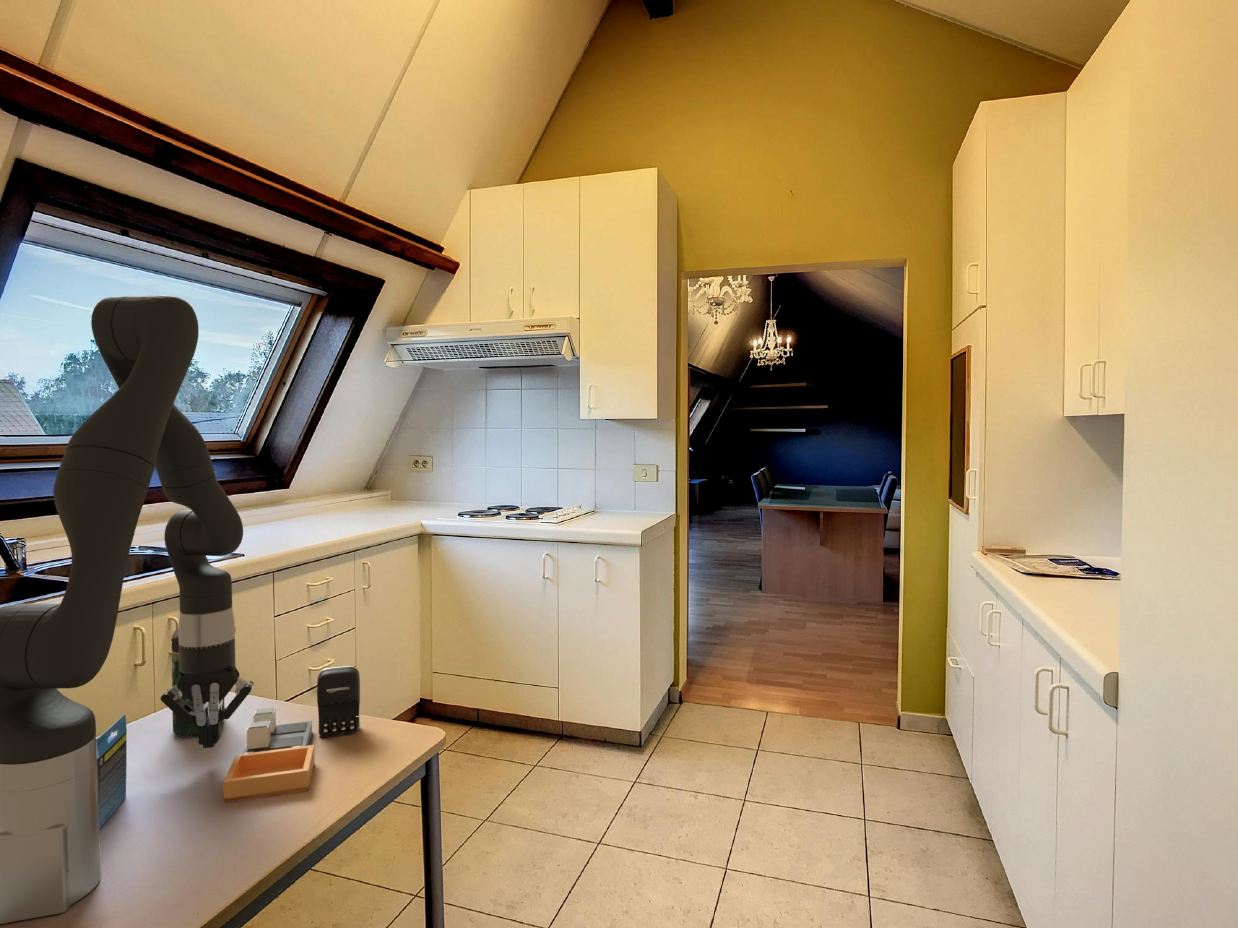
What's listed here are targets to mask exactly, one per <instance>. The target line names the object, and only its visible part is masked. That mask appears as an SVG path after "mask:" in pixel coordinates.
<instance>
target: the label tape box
mask: <svg viewBox="0 0 1238 928" xmlns="http://www.w3.org/2000/svg"><path fill="white" fill-rule="evenodd" d="M126 721H127V719H126V714H125V713H124V714H123V715H122V716H121V717H120V718H119V719H118V720H116V722H114V723H113V724H112V725H111V726H109V727H108V728H107V729H106V730H105V731H104V732H103V733H102V734H100V735H99V736H98V737H96V752H97V786H98V816H99V830H100V829H101V827H102V826H103V825H104V824H105V822H106V821H107V820H108V819H109V818H110V816H112V814H113V813H114V811H116V809H117V808H118V806H120V804H121V803H122V802H123V801H124V799H125V798H126V796H127V755H128V754H127V743H128V742H127V732H128V730H127V722H126ZM112 733H113V734H115V733H116V734H115V735H113V736H111V735H112Z"/></svg>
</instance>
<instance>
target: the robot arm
mask: <svg viewBox="0 0 1238 928" xmlns="http://www.w3.org/2000/svg"><path fill="white" fill-rule="evenodd" d="M197 317H198V316H197V313H196V312H195V310H194V308H193V306H192V305H191V304H190V302H188V301H186V300H185V299H183V298H181V297H178V296H175V295H174V296H173V295H168V294H147V295H146V294H145V295H143V294H141V295H139V294H138V295H115V296H108V297H104V298H102V299H101V300H100V301H98V302H97V303H96V305H95V307H94V308H93V310H92V313H91V318H90V319H91V321H90V325H91V331H92V335H93V338H94V341H95V344H96V347H97V348H98V351H99V353H100V355H101V357H102V359H103V361H104V363H105V366H106V367H107V368H108V371H109V372H110V374H111V376H112V379H113V380H114V382H115V384H116V386H117V388H118V390H116V391H115V393H114V394H113V395H112V396H110V397H109V399H107V400H106V401H105V402H104V403H102V405H100V406H99V407H98V408H97V409H96V410H95V411H94V412H92V413H91V414H90V416H89V417H87V418H86V419H85V421H83V422H82V423H81V425H80V426H79V427H78V428H77V429H76V430H75V431H74V432H73V434H72V436H71V437H70V439H69V441H68V443H67V445H66V448H65V451H64V453H63V456H62V460H61V462H60V465H59V468H58V471H57V473H56V475H55V480H54V484H53V490H52V491H53V495H52V496H53V501H54V504H55V505H54V506H55V508H56V511H57V515H58V518H59V519H60V520H59V521H60V523H61V525H62V527H63V530H64V532H65V534H66V538H67V540H68V543H69V548H70V553H71V561H70V562H71V563H70V564H71V565H70V571H69V572H70V573H69V577H68V581H67V584H66V588H65V591H64V595H63V597H62V599H61V602H60V603H17V604H16V603H15V604H9V605H6V606H3V607H1V608H0V925H2V924H6V923H8V924H9V923H12V922H13V923H14V922H19V921H23V920H24V921H25V920H30V919H34V918H35V919H36V918H41V917H46V916H47V917H48V916H51V915H52V916H53V915H57V914H62V913H65V912H66V911H67V910H68V909H69V908H70V906H72V905H73V904H75V903H76V902H78V901H79V900H81V899H82V898H84V897H86V896H88V894H89V893H90V892H92V891H93V890H94V889H95V887H97V885H98V883H100V881H101V880H100V879H101V848H100V847H101V846H100V845H101V844H100V829H99V816H98V786H97V752H96V739H97V730H96V729H97V724H96V716H95V713H94V711H93V710H92V709H91V708H90V707H87V706H86V705H84V704H81V703H78V702H76V701H74V700H72V699H70V698H68V697H67V696H65V695H64V694H63V693H62V692H60V691H59V690H58V689H75V688H80V687H82V686H85V685H86V684H89V683H90V682H91V681H92V680H93V679H95V677H96V676H97V674H99V673H100V671H101V669H102V668H103V666H104V664H105V662H106V661H107V658H108V655H109V653H110V649H111V646H112V642H113V639H114V635H115V630H116V625H117V620H118V615H119V607H120V603H121V597H122V596H121V595H122V592H123V584H124V580H125V573H126V570H127V564H128V561H129V555H130V553H131V548H132V543H133V540H134V536H135V533H136V529H137V526H138V522H139V518H140V515H141V512H142V508H143V506H144V503H145V499H146V497H147V494H148V491H149V488H150V483H151V481H152V477H153V474H154V470H155V469H156V473H157V477H158V478H159V482H160V484H161V485H160V486H161V488H162V492H163V494H164V496H165V497H166V499H168V501H170V502H171V503H173V504H177V505H180V506H184V507H186V508H188V509H181V510H178V511H177V512H175V513H174V514H173V515H171V516H170V518H169V519H168V521H167V523H166V525H165V529H164V536H163V537H164V545H165V549H166V552H167V556H168V558H169V561H170V564H171V567H172V570H173V572H174V576H175V578H176V581H177V583H178V587H179V598H178V599H179V619H178V627H177V629H178V634H179V671H180V674H179V677H178V679H177V681H176V685H175V686H174V687H170V688H167V689H166V690H165V691H164V692H163V693H162V695H161V696H160V701H161V702H162V703H163V704H164V705H165V706H166V707H167V708H169V710H171V712H172V713H173V712H174V713H175V714H176V715H177V716H178V717H179V718H180V719H181V720H182V721H183V722H184V723H186V724H189V723H194V724H196V725H197V726H198V736H197V742H198V744H199V746H202V749H204V750H205V749H210V748H212V749H213V748H214V747H215V746H216V744H218V743H219V741H220V740H221V739H220V738H221V736H222V735H221V734H222V733H221V732H222V731H221V728H222V727H221V724H220V721H222V720H224V721H225V720H228V719H230V718H231V717H232V715H234V713H235V712H236V710H237V709H238V708H239V707H240V705H241V704H242V703H243V702H244V701H245V699H246V698H247V697H248V695H250V693H251V691H252V690H253V687H254V686H255V685H254V684H255V683H254V681H252V680H248V681H247V680H245V679H243V678H242V677H240V671H238V669H237V664H236V626H235V624H236V623H235V615H234V610H233V584H232V583H233V581H232V577H231V574H230V573H229V572H228V571H226V570H224V569H221V568H218V567H215V566H213V565H212V564H210V561H209V560H208V558H207V556H209V557H223V556H228V555H231V554H233V553H235V551H237V549H239V547H240V546H241V544H242V541H243V537H244V527H243V526H244V525H243V522H242V519H241V516H240V514H239V512H238V510H237V509H236V507H235V505H234V504H233V503H232V501H231V499H230V498H229V496H228V495H227V494H226V492H225V490H224V488H223V487H222V485H220V483H219V481H218V478H217V476H216V473H215V469H214V466H213V462H212V458H211V454H210V452H209V449H208V446H207V443H206V441H205V438H204V437H203V436H202V434H201V433H200V431H199V429H198V428H197V427H196V426H195V424H194V423H193V422H192V421H190V419H189V417H187V416H186V415H185V414H184V413H183V412H182V411H181V410H180V409H179V408H178V407H177V406H176V405H175V401H176V398H177V396H178V393H179V391H180V389H181V387H182V384H183V382H184V379H185V377H186V375H187V373H188V371H189V368H190V366H191V363H192V362H193V359H194V356H195V353H196V350H197V346H198V342H199V320H198V318H197ZM234 686H235V689H234V693H235V696H234V697H233V699H232V700H231V701H230V702H229V703H228V705H227V706H225V709H222V703H223V699H224V700H225V698H226V697H227V695H228V694H229V692H230V691H231V690H232V688H233V687H234ZM181 692H182V693H183V694H184V695H185V696H186V697H187V698H188V699H189V700H190V701H191V702H193V703H194V709H193V708H192V707H191V706H190V705H189V704H188V703H187V702H186V701H184V700H183V699H182V698H181V697H182V693H181ZM209 702H210V705H209V708H208V704H209ZM209 710H210V716H209Z"/></svg>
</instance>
